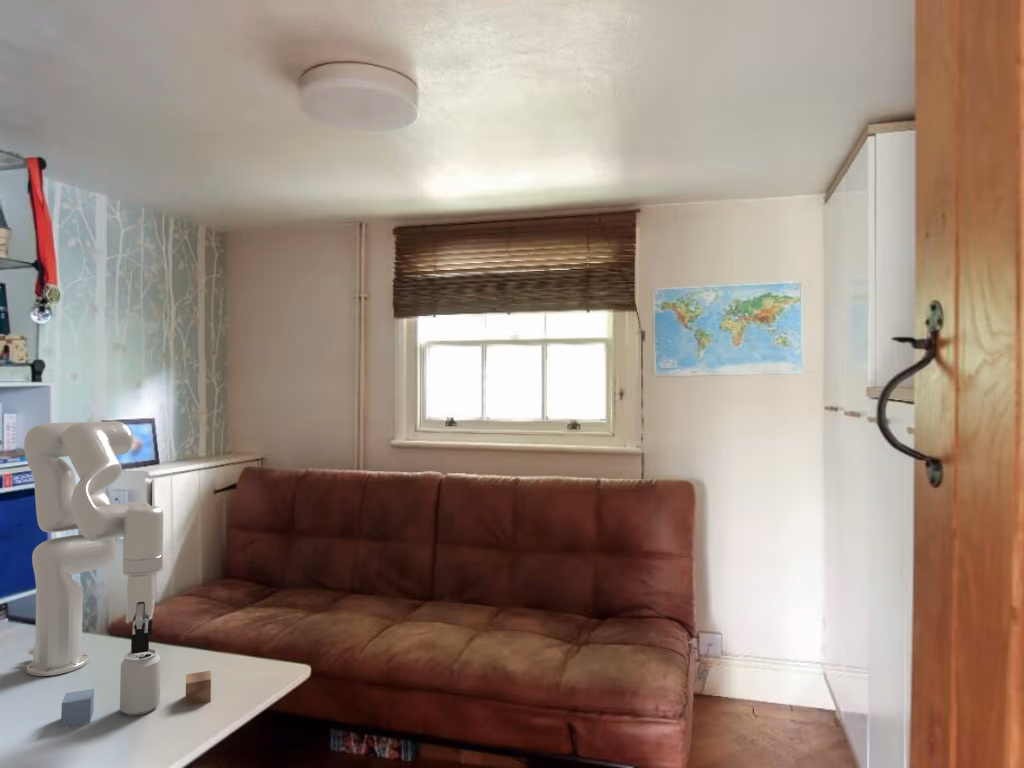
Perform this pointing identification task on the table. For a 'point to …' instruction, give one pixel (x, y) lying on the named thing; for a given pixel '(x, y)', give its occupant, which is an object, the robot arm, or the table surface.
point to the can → (140, 682)
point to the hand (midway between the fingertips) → (141, 644)
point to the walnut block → (198, 688)
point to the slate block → (77, 707)
